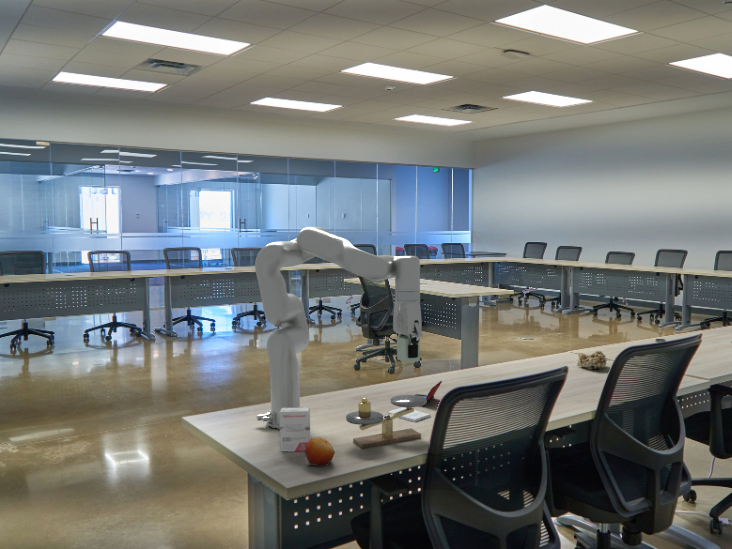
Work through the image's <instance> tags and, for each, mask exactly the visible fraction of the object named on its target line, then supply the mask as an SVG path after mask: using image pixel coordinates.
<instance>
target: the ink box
mask: <svg viewBox="0 0 732 549" xmlns="http://www.w3.org/2000/svg"><path fill="white" fill-rule="evenodd" d="M279 421H280V429H279V446H280V447H279V448H280V452H281V451H288V452H305V449H306V445H307V443H308V442H309V441H310V440H311V439H312V437H311V409H310V407H306V406H305V407H300V408H281V410H280V412H279Z"/></svg>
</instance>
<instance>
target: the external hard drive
mask: <svg viewBox="0 0 732 549" xmlns="http://www.w3.org/2000/svg"><path fill="white" fill-rule="evenodd" d="M405 409H406V407H398V408H396V409H392V410H390V411H387V414H389V415H391V414H393V413H396V412H399V411H402V410H405ZM427 417H428V418H431V414H430V413H426V412H423V411H422V412H421V411H419V410H415V409H414V412H412V413H409V414H406V415H403V416H401V417H399V419H401V418H403V420H405V419H406V420H405V421H409V420H410V421H409V422H412V421H413V423H417V422H419V420H420V421H422V420H425V419H424V418H426V419H428V418H427ZM421 419H422V420H421ZM416 421H417V422H416Z"/></svg>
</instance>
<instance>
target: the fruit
mask: <svg viewBox="0 0 732 549" xmlns="http://www.w3.org/2000/svg"><path fill="white" fill-rule="evenodd" d="M335 452H336V451H335V449H334V447H333V445H332V443H331V442H330V441H329V440H327V439H325V438H323V437H311V440H310V441H309V442H308V443H307V445H306V449H305V451H304V453H305V456H306V460H307V463H308V465H307V466H306V467H308V468H309V466H311V465H314V466H318V467H326V466H327V465H329V464H330V463H331V462H332V460H333V459H334V457H335V456H334V455H335Z"/></svg>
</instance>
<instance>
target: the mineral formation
mask: <svg viewBox="0 0 732 549" xmlns="http://www.w3.org/2000/svg"><path fill="white" fill-rule="evenodd" d="M577 356H578V359H577V361H578V362H577V364H576V366H578V367H581V368H587V370H593V369H594V370H596V369H598V370H600V369H603V368H605V367H606V366H607V361H608V360H607V359H608V358H607V357H606V354H604V353H603V352H602V350H596V351H594V352H592V354H589V355H586V354H585V353H583V352H578V354H577Z"/></svg>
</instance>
